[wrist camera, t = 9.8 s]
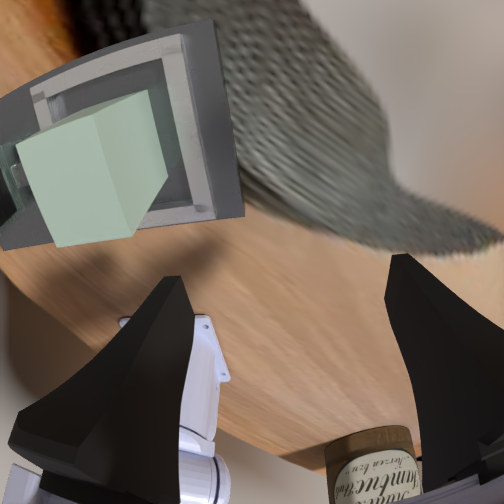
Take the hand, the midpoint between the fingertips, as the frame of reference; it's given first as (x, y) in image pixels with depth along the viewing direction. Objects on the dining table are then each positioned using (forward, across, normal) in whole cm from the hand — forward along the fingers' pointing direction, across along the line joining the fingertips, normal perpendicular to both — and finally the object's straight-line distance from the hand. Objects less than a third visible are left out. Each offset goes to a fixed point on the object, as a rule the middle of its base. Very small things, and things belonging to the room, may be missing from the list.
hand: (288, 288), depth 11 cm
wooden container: (+9, -12, +46) cm, 48 cm away
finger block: (+8, +8, -4) cm, 12 cm away
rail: (+9, +12, -4) cm, 15 cm away
